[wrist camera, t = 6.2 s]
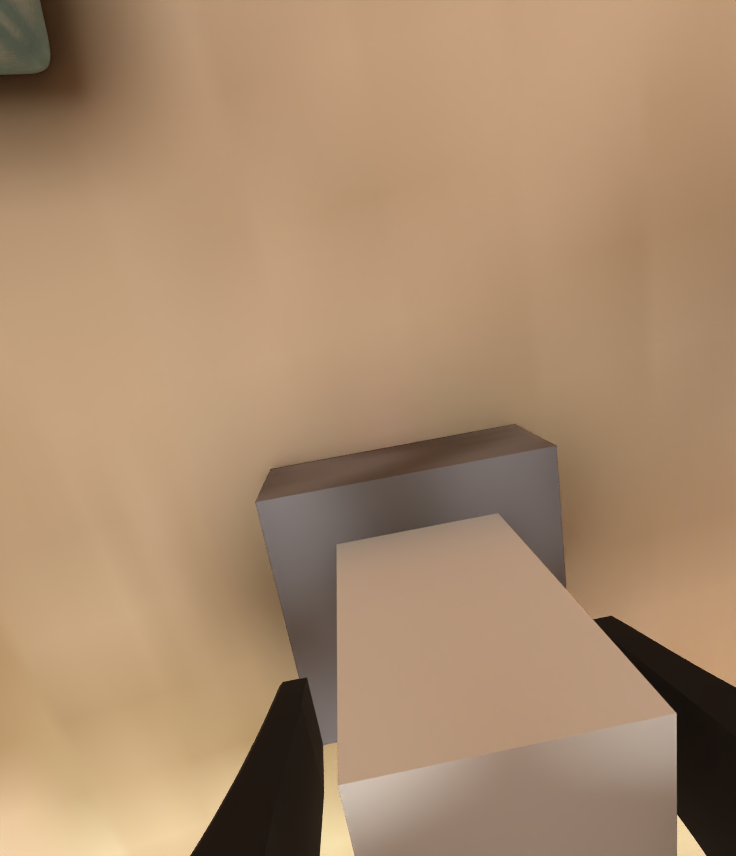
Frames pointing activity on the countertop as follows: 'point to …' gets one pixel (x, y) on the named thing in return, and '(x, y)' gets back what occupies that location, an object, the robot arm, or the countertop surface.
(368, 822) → the cream block
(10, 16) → the flower pot
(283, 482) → the charcoal plinth
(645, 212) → the countertop surface
